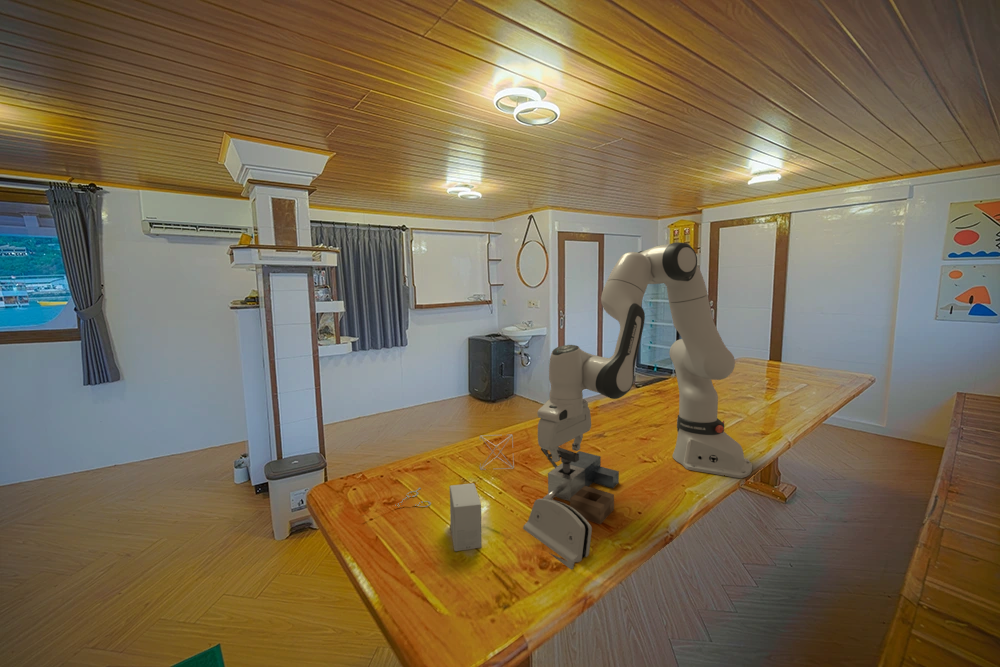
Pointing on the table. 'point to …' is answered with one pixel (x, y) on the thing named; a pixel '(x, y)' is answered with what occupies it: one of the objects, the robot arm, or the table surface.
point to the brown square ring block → (593, 504)
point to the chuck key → (567, 459)
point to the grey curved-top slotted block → (560, 530)
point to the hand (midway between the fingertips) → (566, 455)
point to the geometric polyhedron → (499, 452)
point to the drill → (580, 477)
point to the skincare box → (465, 517)
